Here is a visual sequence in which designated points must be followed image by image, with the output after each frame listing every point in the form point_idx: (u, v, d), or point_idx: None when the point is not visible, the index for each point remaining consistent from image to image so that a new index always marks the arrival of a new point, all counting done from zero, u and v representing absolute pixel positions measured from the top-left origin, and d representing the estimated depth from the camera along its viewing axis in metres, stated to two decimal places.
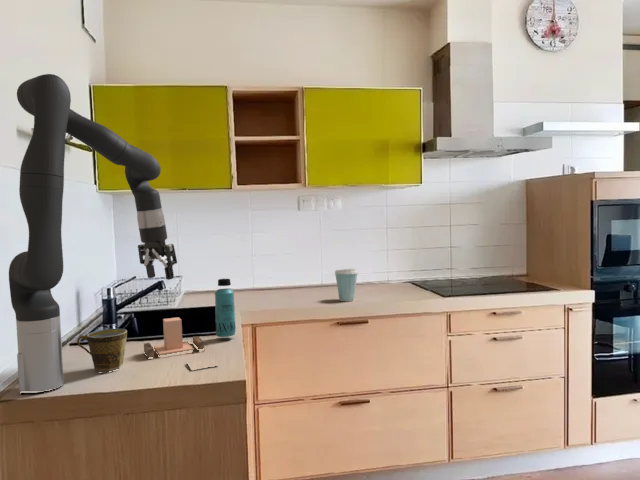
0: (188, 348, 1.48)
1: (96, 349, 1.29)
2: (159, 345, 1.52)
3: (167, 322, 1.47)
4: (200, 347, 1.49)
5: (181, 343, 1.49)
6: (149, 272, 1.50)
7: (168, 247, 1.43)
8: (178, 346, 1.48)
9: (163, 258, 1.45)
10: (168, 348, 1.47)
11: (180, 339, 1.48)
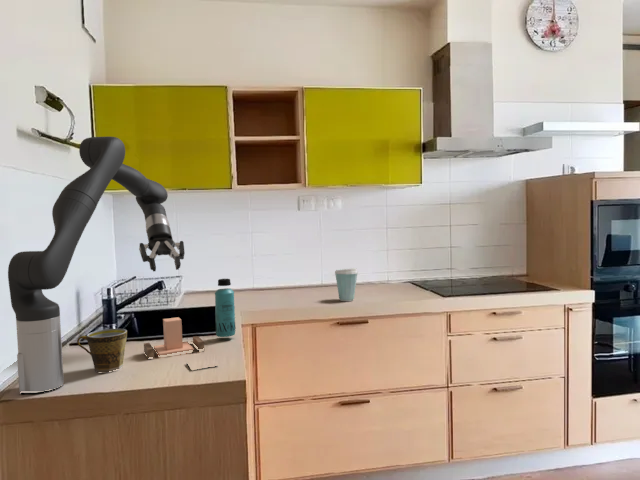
0: (188, 348, 1.48)
1: (96, 349, 1.29)
2: (159, 345, 1.53)
3: (167, 322, 1.47)
4: (200, 347, 1.49)
5: (181, 343, 1.49)
6: None
7: None
8: (178, 346, 1.48)
9: None
10: (168, 348, 1.47)
11: (180, 339, 1.48)
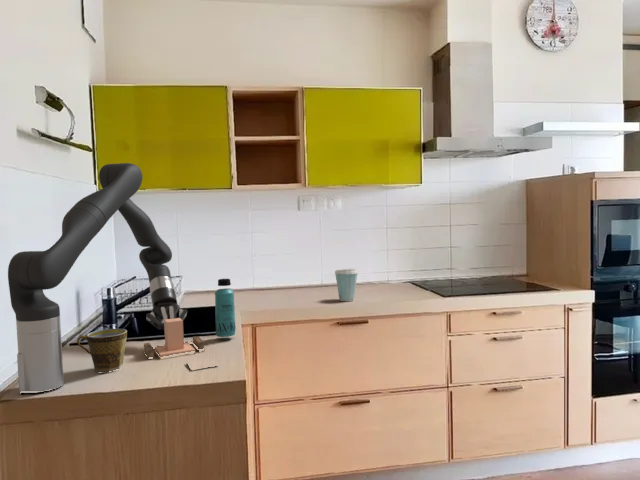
0: (189, 349, 1.47)
1: (96, 349, 1.29)
2: (160, 346, 1.51)
3: (168, 323, 1.45)
4: (200, 347, 1.49)
5: (182, 344, 1.47)
6: None
7: (186, 312, 1.58)
8: (179, 347, 1.47)
9: (173, 318, 1.55)
10: (169, 349, 1.46)
11: (181, 340, 1.47)
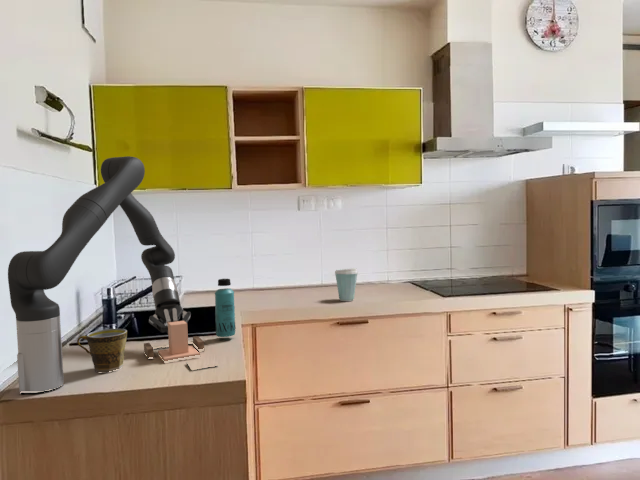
0: (194, 353, 1.43)
1: (96, 349, 1.29)
2: None
3: (172, 326, 1.41)
4: (200, 347, 1.49)
5: (187, 347, 1.43)
6: None
7: (190, 314, 1.54)
8: (184, 351, 1.43)
9: None
10: (174, 353, 1.41)
11: (186, 343, 1.43)
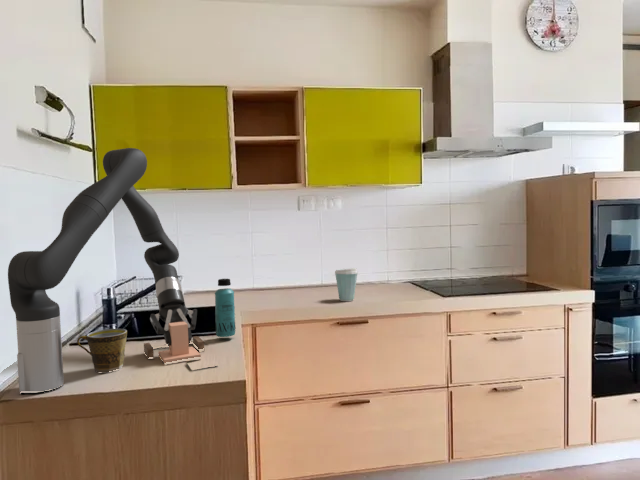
0: (195, 354, 1.41)
1: (96, 349, 1.29)
2: None
3: (172, 327, 1.39)
4: (200, 347, 1.49)
5: (187, 349, 1.41)
6: (170, 337, 1.41)
7: None
8: (184, 352, 1.41)
9: None
10: (174, 354, 1.40)
11: (186, 344, 1.41)
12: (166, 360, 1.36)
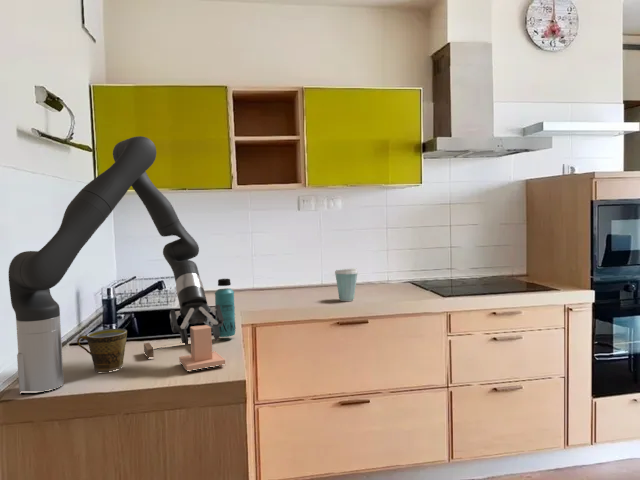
0: (219, 359, 1.32)
1: (96, 349, 1.29)
2: (185, 356, 1.37)
3: (195, 330, 1.31)
4: None
5: (211, 354, 1.33)
6: None
7: None
8: (207, 357, 1.33)
9: None
10: (197, 360, 1.31)
11: (209, 349, 1.33)
12: (189, 366, 1.28)
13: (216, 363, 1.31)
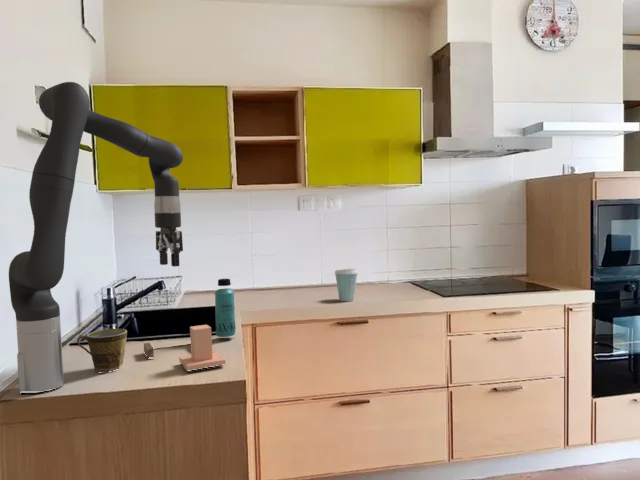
0: (219, 359, 1.32)
1: (96, 349, 1.29)
2: (185, 356, 1.37)
3: (195, 330, 1.31)
4: None
5: (211, 354, 1.33)
6: (161, 259, 1.52)
7: (175, 233, 1.44)
8: (207, 357, 1.33)
9: (171, 244, 1.46)
10: (197, 360, 1.31)
11: (209, 349, 1.33)
12: (189, 366, 1.28)
13: (216, 363, 1.31)
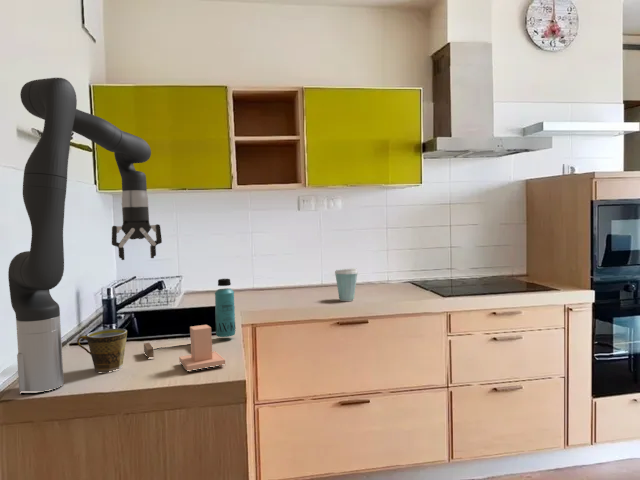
0: (219, 359, 1.32)
1: (96, 349, 1.29)
2: (185, 356, 1.37)
3: (195, 330, 1.31)
4: None
5: (211, 354, 1.33)
6: (123, 254, 1.49)
7: (159, 226, 1.54)
8: (207, 357, 1.33)
9: (150, 237, 1.53)
10: (197, 360, 1.31)
11: (209, 349, 1.33)
12: (189, 366, 1.28)
13: (216, 363, 1.31)
